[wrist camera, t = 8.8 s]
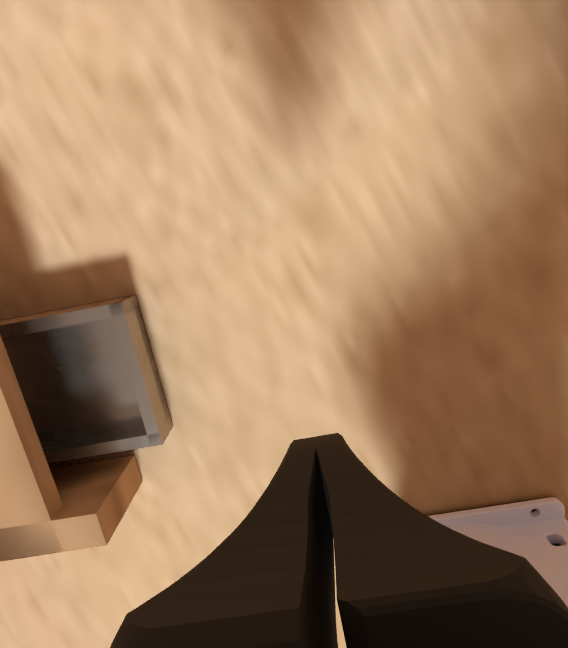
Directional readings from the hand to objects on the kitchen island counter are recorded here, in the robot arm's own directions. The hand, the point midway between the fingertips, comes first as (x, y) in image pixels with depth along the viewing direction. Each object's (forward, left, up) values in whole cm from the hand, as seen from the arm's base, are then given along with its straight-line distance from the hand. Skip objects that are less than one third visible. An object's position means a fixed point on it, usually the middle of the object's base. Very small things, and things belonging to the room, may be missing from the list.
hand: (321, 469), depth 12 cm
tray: (+13, -1, -10) cm, 16 cm away
